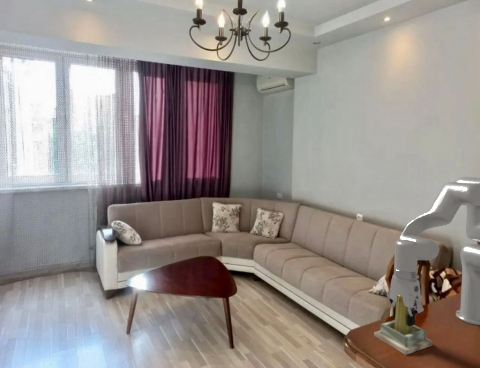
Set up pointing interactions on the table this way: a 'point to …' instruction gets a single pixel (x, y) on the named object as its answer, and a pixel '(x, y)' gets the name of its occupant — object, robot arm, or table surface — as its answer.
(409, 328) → the vase
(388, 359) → the table surface
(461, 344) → the table surface
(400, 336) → the vase stand
